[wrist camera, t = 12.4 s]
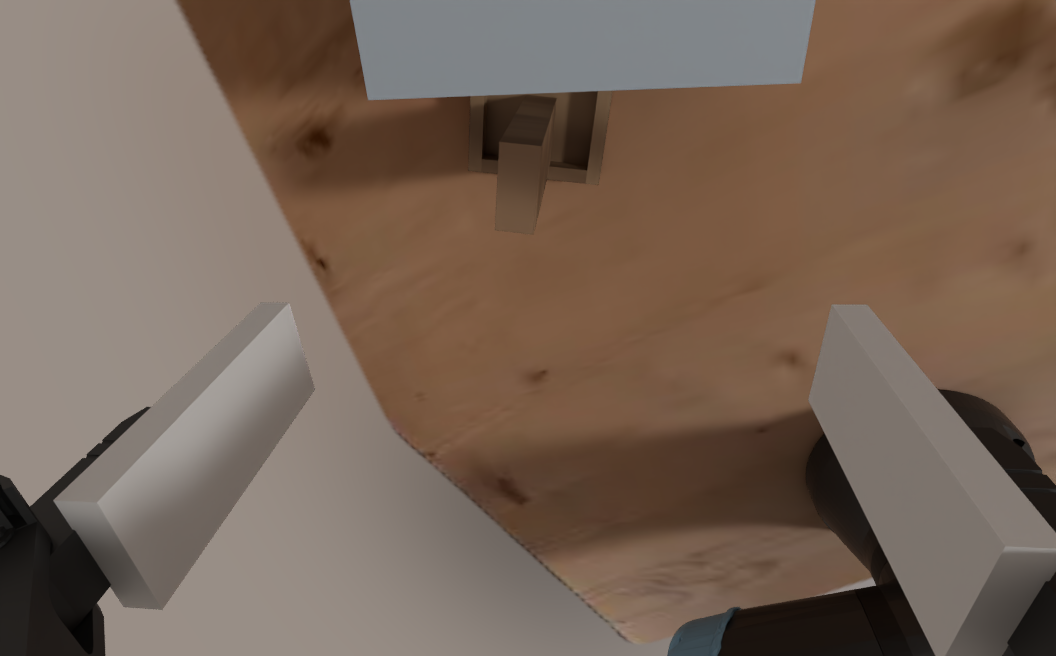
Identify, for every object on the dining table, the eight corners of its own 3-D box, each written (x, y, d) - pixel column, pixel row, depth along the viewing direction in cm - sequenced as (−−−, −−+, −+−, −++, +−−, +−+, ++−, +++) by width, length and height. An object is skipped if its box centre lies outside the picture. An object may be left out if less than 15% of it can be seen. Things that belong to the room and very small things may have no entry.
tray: (598, 175, 37) (599, 252, 27) (474, 161, 37) (428, 232, 27) (645, -147, 28) (673, -213, 18) (484, -160, 29) (422, -233, 19)
